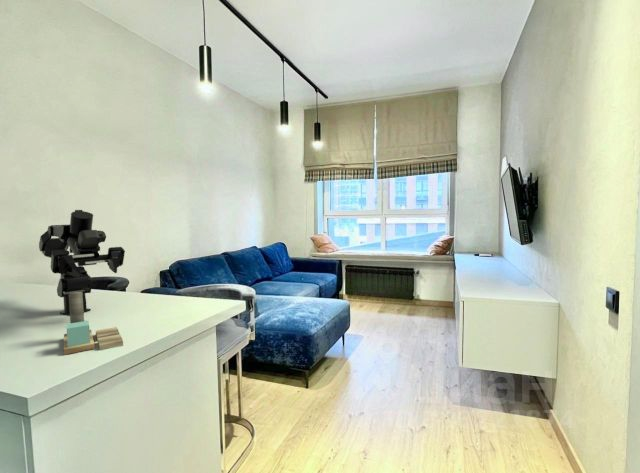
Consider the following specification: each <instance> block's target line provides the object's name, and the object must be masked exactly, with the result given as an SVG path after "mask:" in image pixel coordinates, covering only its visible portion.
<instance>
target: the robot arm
mask: <svg viewBox="0 0 640 473" xmlns="http://www.w3.org/2000/svg"><path fill="white" fill-rule="evenodd" d="M93 221H94V214H93V213H91V212H88V211H85V210H83V209H75V210H74V211H72V212H71V213H70V221H69V222H70V223H69V224H52V225H48V227H47V230H46V231H45V232H44V233H42V235H40V238H39V243H38V249H39V252H41V253H42V255H44V257H47V258H51V259H50V270H51V272H52V273H53V274H59V275H60V279H58V283H57V286H56V293H57V296H58V297H59V298H63V308H64V309H63V311H60V312H59V314H61V315H68V316H70V309H69V293H73V292H82V293H83V310H84V313H86V312H88V311H91V309H92V308H88V307H87V298H86V297H87V296H86V294H91V293H92V285H93V284H92V283H93V279H92V278H91V275H89V274H88V271H87V270H86V268H85V267H84V266H94V265H97V264H100V263H101V264H102V263H106V264H107V266H108V268H109V269H110V270H111V271H112V273H115V274H117V273H118V268H119V267H122V266H123V265H124V259H125V252H126V250H125V249H124V248H123V247H122V246H114V247H113V246H112V247H109V248H108V249H107V253H106V254H100V253H99V252H101V247H100V245H99V244H100V243H105V242H106V239H107V234H106V233H105V231H104V230H97V229H93ZM76 264H77V265H76Z"/></svg>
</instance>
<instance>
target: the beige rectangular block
mask: <svg viewBox="0 0 640 473" xmlns="http://www.w3.org/2000/svg"><path fill="white" fill-rule="evenodd" d="M95 336H96V340H97V344H98V349H99V350H100V351H101V350H102V351H103V350H107V349H112V348H117V347H121V346H124V340H123V337H122V336H121V334H120V331H119V328H118V327H117V326H115V327H114V326H113V327H109V328H103V329H97V330H95Z"/></svg>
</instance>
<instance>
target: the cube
mask: <svg viewBox="0 0 640 473" xmlns="http://www.w3.org/2000/svg"><path fill="white" fill-rule="evenodd" d="M65 326H66V334H67V344H68V347H72V346H77V345H83V344H88V343H90V331H89V330H90V323H89V320H84V321H83V322H76V323H70V322H69V323H66V325H65Z"/></svg>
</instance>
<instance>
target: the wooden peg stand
mask: <svg viewBox="0 0 640 473" xmlns="http://www.w3.org/2000/svg"><path fill="white" fill-rule="evenodd" d="M69 309H70V315H69V321H70V322H69V324H70V323H76V322H83V321H85V314H84V313H85V312H84V310H83V293H82V292H73V293H69ZM89 331H90V343H88V344H83V345H77V346H72V347H68V344H67V333H64V334H63V355H69V354H75V353H79V352H80V353H81V352H85V351H90V350H94V349H95V342H94V337H93V332H92V329H89Z"/></svg>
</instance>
